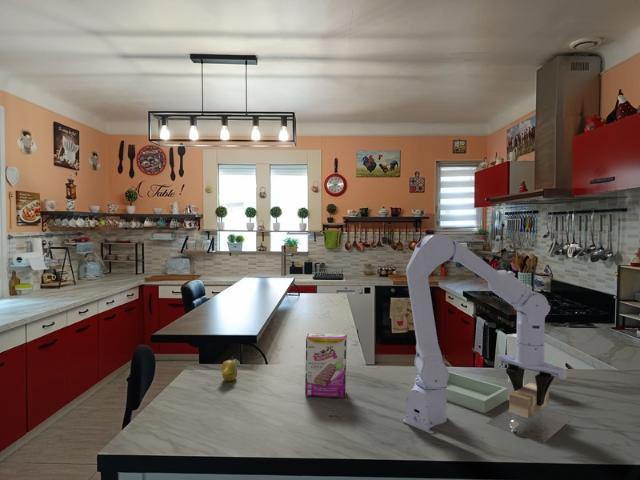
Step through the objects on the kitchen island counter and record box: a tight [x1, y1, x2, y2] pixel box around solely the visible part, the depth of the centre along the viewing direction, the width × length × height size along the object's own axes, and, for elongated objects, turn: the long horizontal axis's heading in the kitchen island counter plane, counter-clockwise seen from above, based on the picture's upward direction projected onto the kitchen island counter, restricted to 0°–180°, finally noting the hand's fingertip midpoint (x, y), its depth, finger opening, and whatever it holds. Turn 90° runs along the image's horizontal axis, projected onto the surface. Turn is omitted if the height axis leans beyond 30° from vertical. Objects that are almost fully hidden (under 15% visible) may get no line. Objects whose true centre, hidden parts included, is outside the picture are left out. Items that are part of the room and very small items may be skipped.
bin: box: [447, 371, 509, 414], centre depth 107 cm, size 13×19×4 cm
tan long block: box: [508, 382, 550, 418], centre depth 92 cm, size 12×4×4 cm, turn 131°
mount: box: [485, 408, 573, 445], centre depth 92 cm, size 18×12×4 cm, turn 131°
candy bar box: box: [304, 332, 348, 399], centre depth 109 cm, size 11×5×16 cm, turn 84°
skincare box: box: [506, 333, 540, 386], centre depth 116 cm, size 8×6×15 cm
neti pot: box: [220, 359, 238, 382], centre depth 120 cm, size 4×15×6 cm, turn 1°
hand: (529, 401), depth 92 cm, fingers closed on tan long block, 4 cm apart
